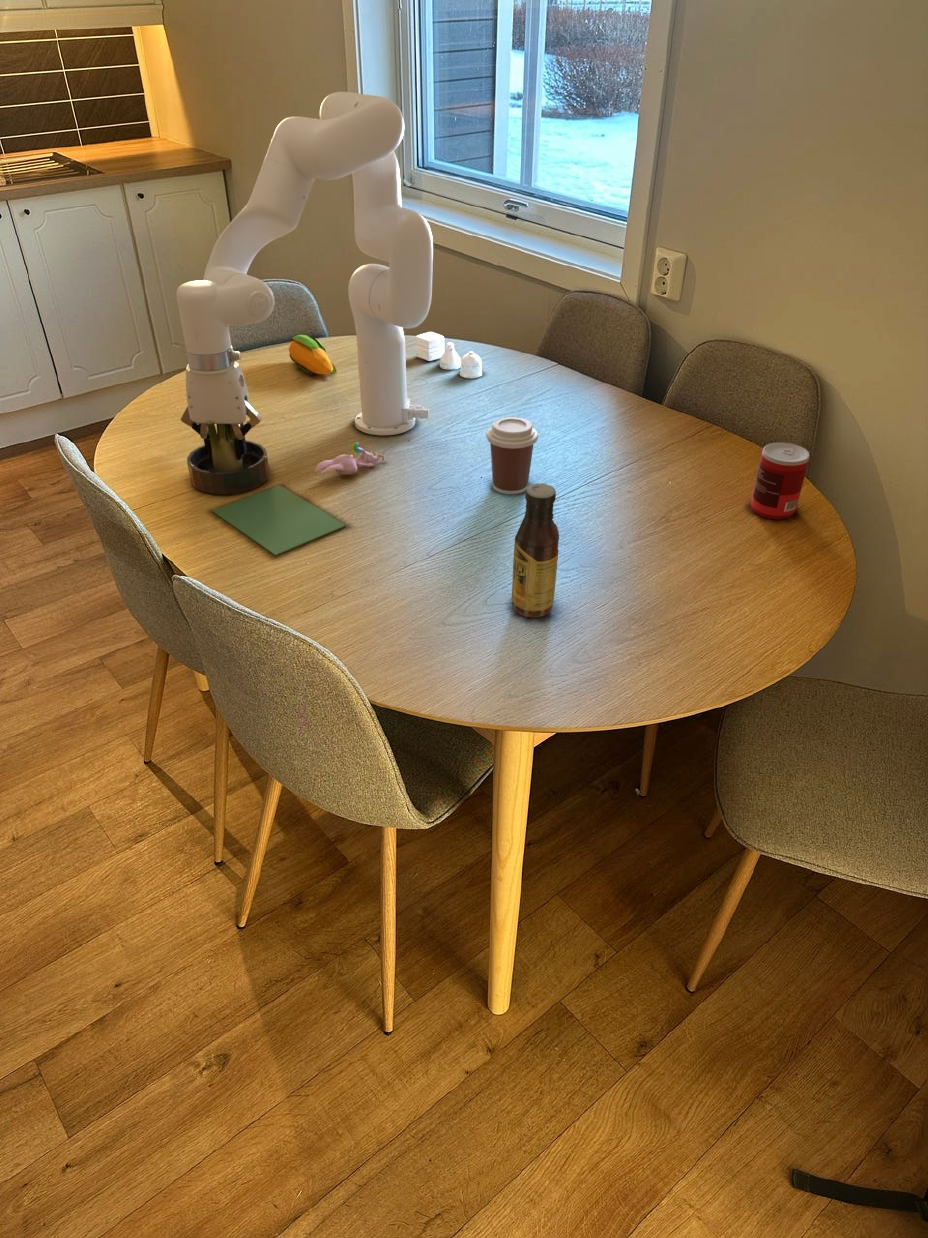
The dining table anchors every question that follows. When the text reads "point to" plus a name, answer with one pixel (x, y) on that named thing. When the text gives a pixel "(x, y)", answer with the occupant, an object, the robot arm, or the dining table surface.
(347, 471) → the rabbit figure
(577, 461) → the dining table surface
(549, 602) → the sauce bottle
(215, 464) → the fennel bulb
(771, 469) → the canned food
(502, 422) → the coffee cup
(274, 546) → the cloth
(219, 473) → the pan
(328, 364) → the corn
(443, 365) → the container set
